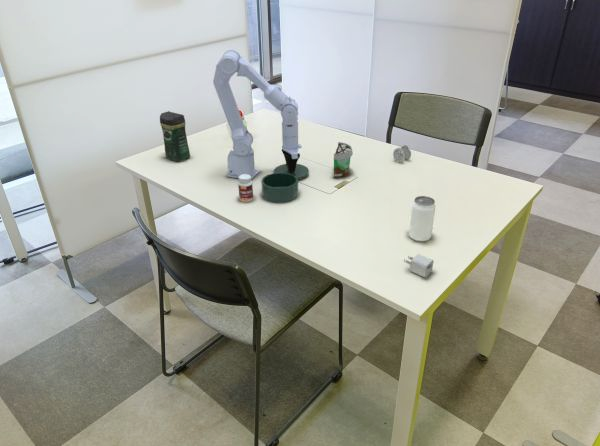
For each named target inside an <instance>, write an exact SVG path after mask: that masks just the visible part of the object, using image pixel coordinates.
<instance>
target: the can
mask: <svg viewBox="0 0 600 446" xmlns="http://www.w3.org/2000/svg"><path fill="white" fill-rule="evenodd" d="M435 202H436V200H435V199H434V198H432V197H430V196H427V195H419V196H416V197H415V198H414V201H413V203H412V206H411V212H410V220H409V229H408V237H410V238H411V239H412V240H413V241H415V242H421V243H423V242H427V241H430V239H431V238H432V233H433V227H434V221H435V214H436V204H435Z"/></svg>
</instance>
